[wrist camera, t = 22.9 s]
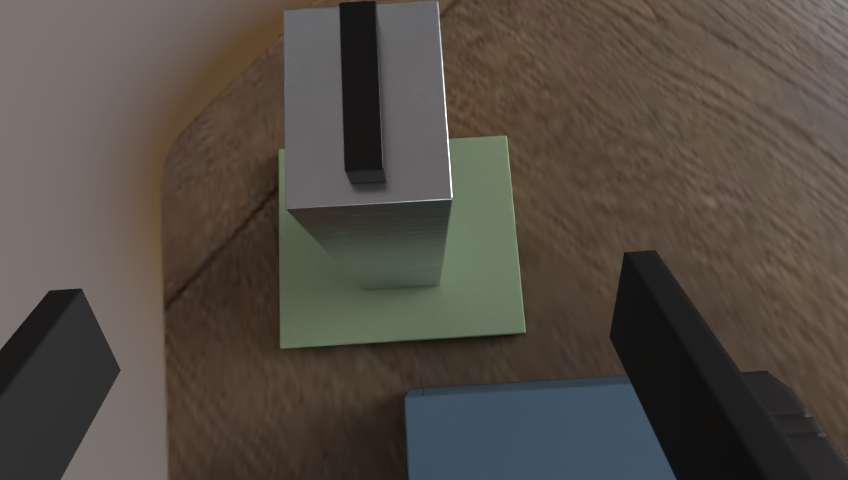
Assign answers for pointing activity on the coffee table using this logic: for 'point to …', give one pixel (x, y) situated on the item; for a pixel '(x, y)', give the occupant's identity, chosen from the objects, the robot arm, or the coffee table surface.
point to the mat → (422, 306)
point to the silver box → (369, 138)
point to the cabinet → (532, 432)
